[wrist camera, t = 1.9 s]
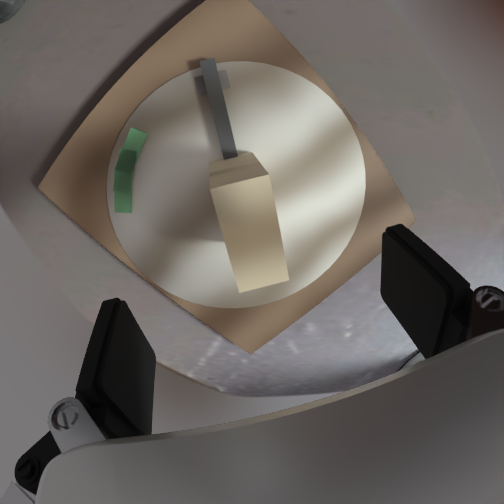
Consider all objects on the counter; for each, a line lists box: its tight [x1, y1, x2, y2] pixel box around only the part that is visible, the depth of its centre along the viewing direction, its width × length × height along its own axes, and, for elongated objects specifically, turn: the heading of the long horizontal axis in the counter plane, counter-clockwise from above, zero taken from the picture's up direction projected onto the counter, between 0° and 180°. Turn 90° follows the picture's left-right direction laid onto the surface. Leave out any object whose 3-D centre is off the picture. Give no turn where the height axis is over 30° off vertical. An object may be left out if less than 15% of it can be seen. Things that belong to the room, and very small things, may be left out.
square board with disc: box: [38, 0, 416, 354], centre depth 22 cm, size 23×19×2 cm
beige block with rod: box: [200, 58, 289, 293], centre depth 17 cm, size 12×3×6 cm, turn 12°
